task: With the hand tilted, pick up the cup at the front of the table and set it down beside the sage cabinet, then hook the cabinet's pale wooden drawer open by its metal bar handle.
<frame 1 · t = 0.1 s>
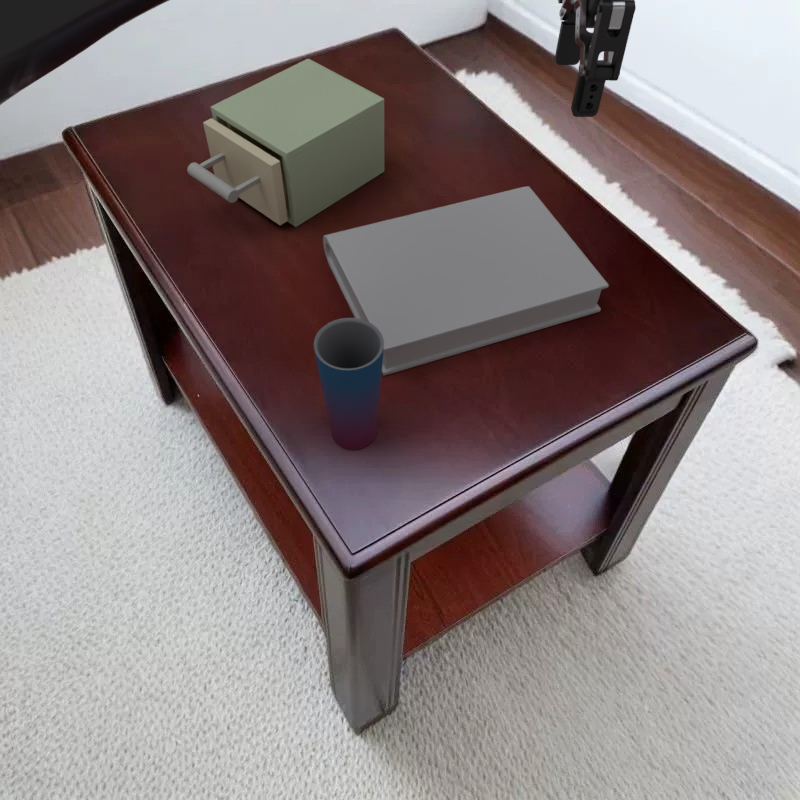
hand: (574, 88, 66), 19 cm above the table, tool pointing down, fingers open, 8 cm apart
drawer: (272, 157, 83), point 5 cm above the table, slide at 0.5 cm
book: (457, 284, 78), on the table
cup: (354, 432, 66), on the table
cabinet: (305, 175, 89), on the table
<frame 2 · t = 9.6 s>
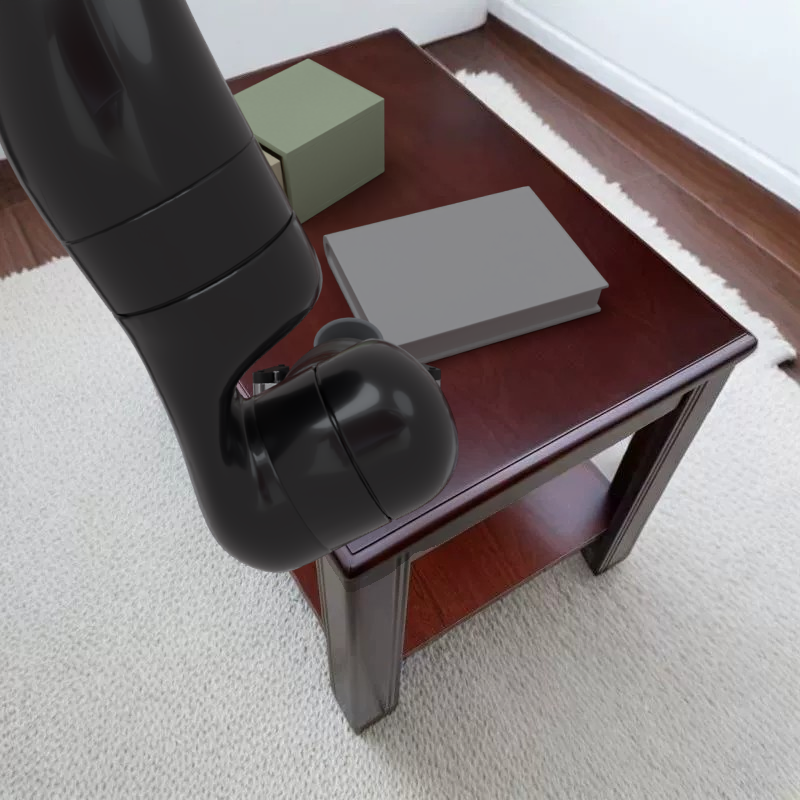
hand: (351, 374, 62), 6 cm above the table, tool tilted 45°, fingers closed on cup, 5 cm apart
cup: (354, 432, 66), on the table, touching gripper
everything else where it was.
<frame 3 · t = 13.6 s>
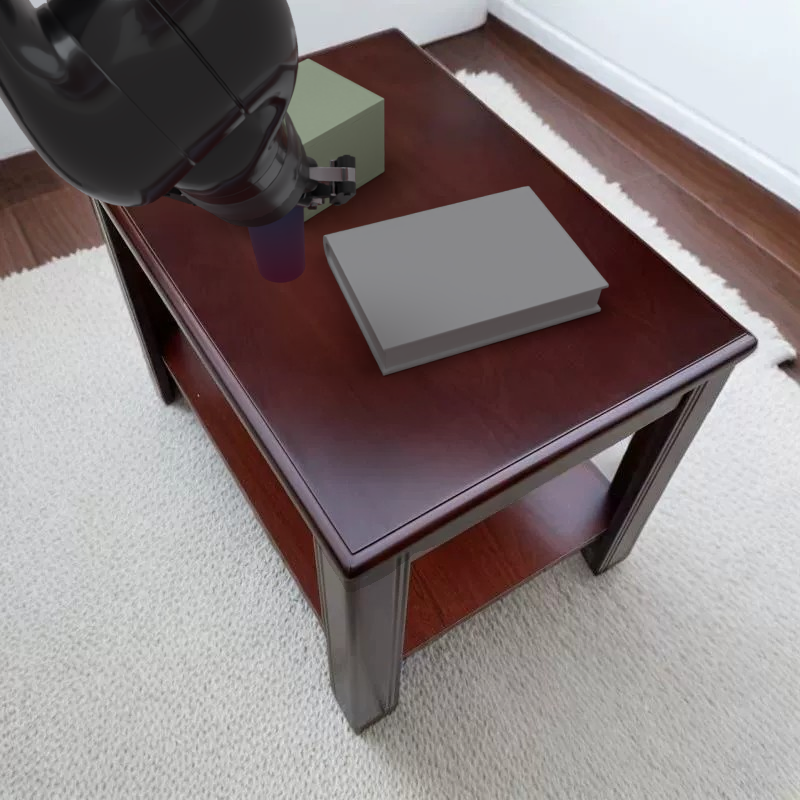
hand: (275, 196, 60), 17 cm above the table, tool tilted 45°, fingers closed on cup, 5 cm apart
cup: (282, 268, 63), point 11 cm above the table, touching gripper
everything else where it was.
when the fingers open (6 cm above the table, at t = 17.7 s): cup stays where it is, on the table.
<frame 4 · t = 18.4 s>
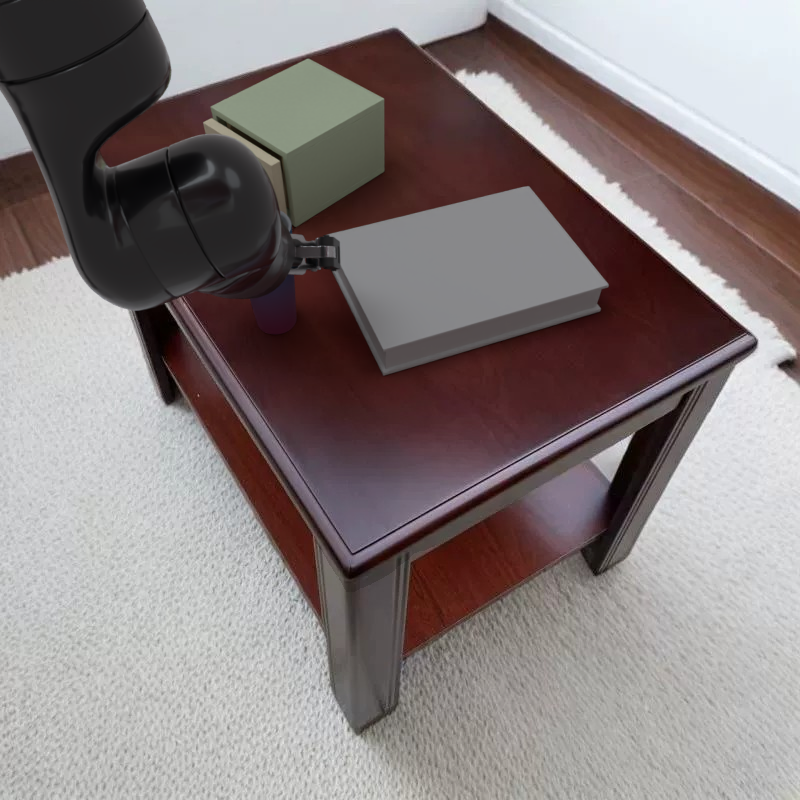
hand: (267, 259, 69), 7 cm above the table, tool tilted 45°, fingers open, 8 cm apart
cup: (277, 321, 74), on the table
everything else where it was.
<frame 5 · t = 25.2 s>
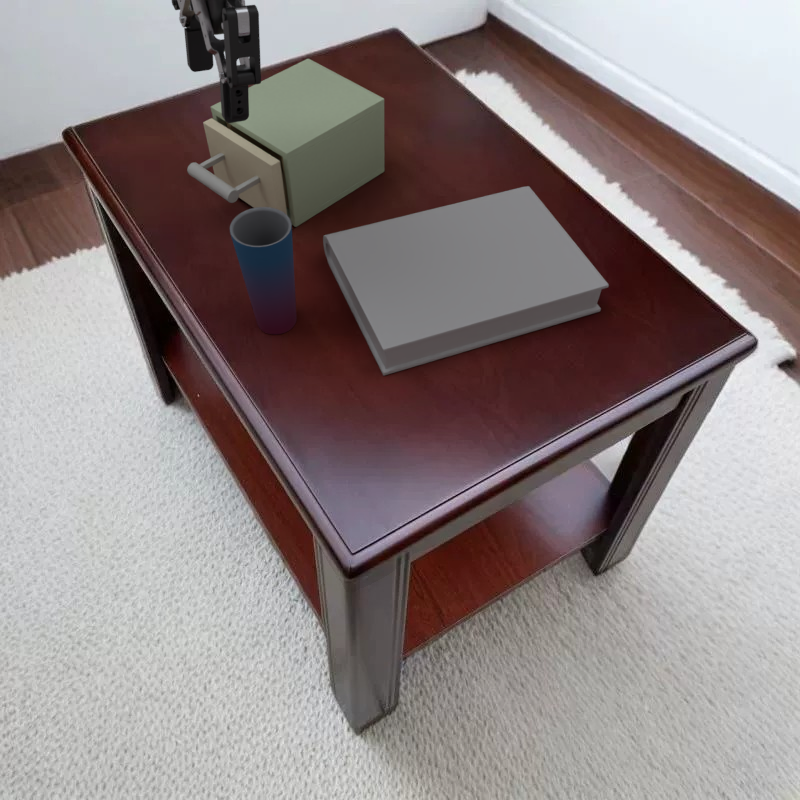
hand: (217, 93, 65), 19 cm above the table, tool pointing down, fingers open, 8 cm apart
nothing on the table moved.
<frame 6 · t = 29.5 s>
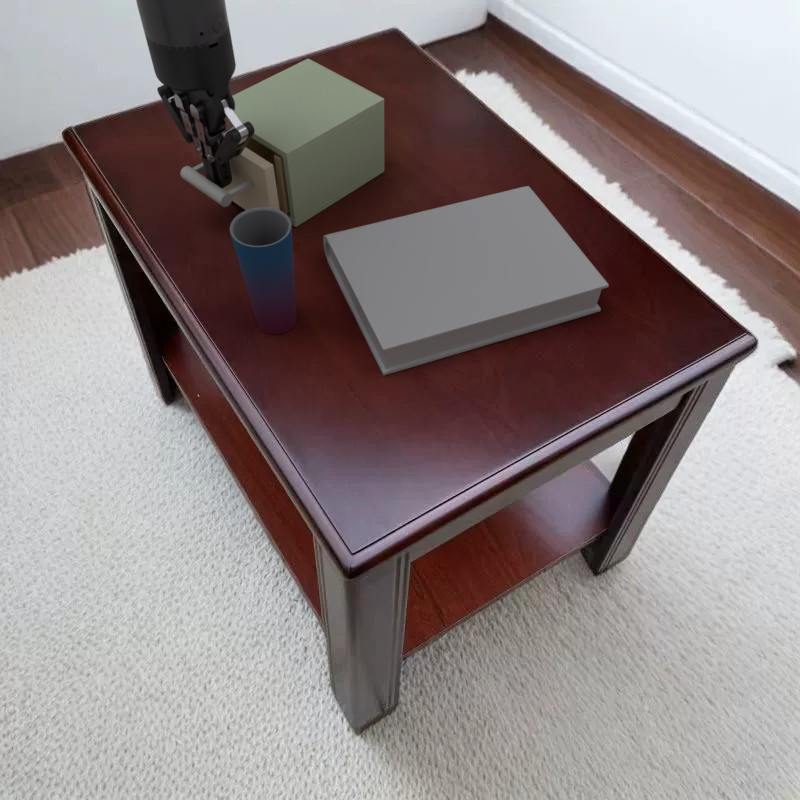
hand: (220, 184, 79), 5 cm above the table, tool pointing down, fingers closed
drawer: (266, 160, 83), point 5 cm above the table, slide at 1.4 cm
everything else where it was.
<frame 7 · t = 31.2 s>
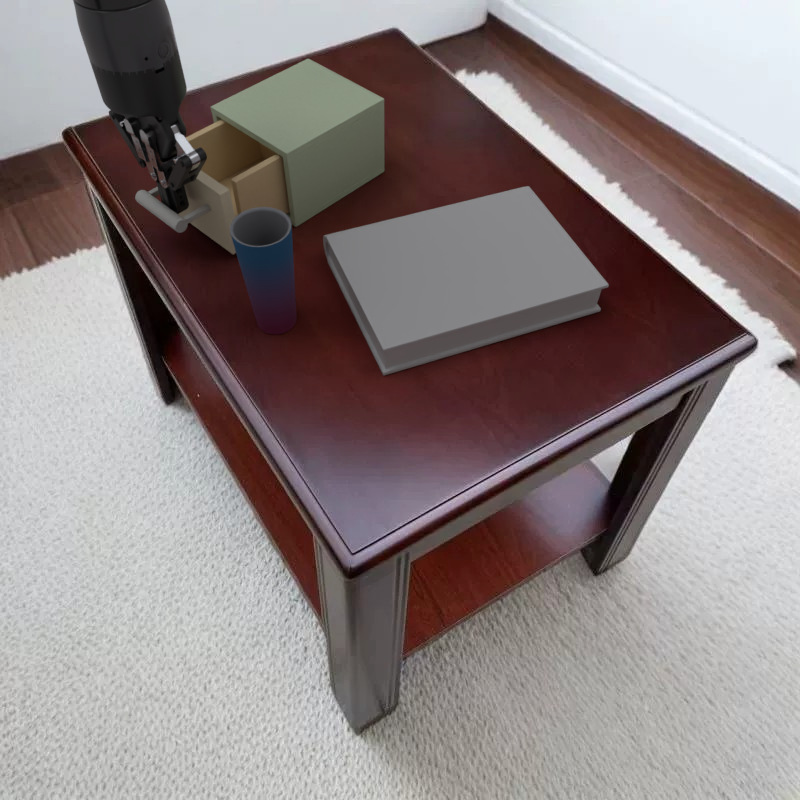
hand: (177, 209, 77), 5 cm above the table, tool pointing down, fingers closed
drawer: (226, 183, 80), point 5 cm above the table, slide at 7.2 cm
everything else where it was.
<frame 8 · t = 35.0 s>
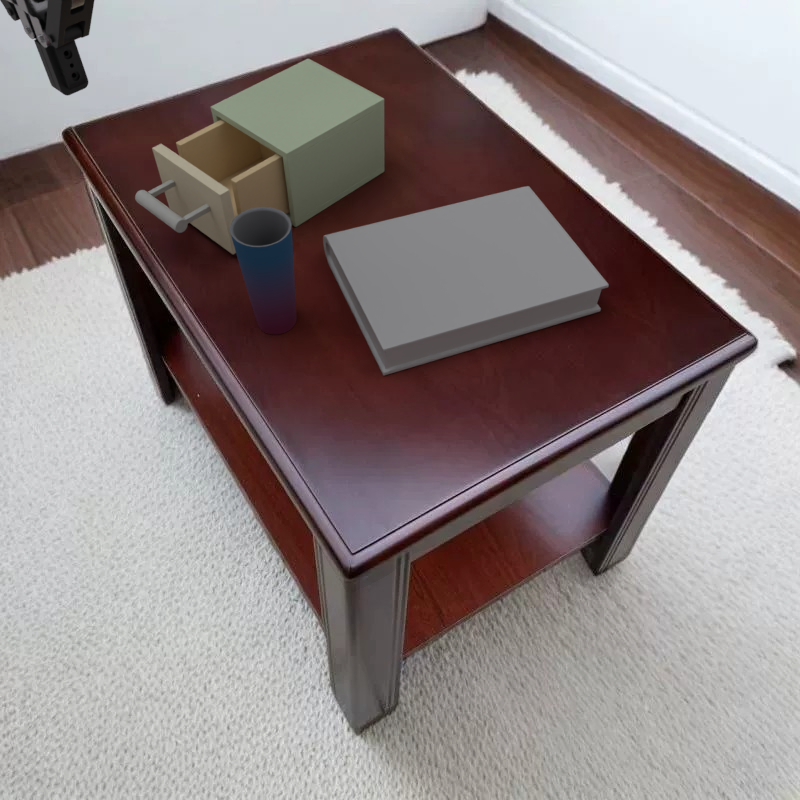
hand: (71, 88, 54), 25 cm above the table, tool pointing down, fingers closed
nothing on the table moved.
at the end: drawer slide at 7.2 cm; cup 0.1 cm from the target spot, on the table; cup tilted 0° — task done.
